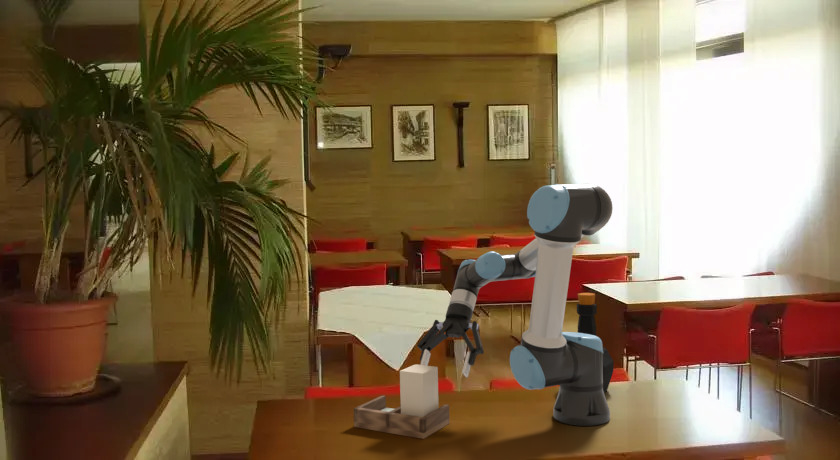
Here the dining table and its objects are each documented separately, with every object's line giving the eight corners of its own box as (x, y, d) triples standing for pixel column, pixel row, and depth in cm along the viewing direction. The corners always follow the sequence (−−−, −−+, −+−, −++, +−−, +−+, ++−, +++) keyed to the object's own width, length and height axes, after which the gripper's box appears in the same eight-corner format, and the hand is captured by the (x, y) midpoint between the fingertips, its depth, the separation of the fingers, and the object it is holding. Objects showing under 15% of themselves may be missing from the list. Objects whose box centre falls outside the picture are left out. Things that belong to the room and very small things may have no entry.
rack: (449, 423, 202) (449, 405, 202) (423, 438, 190) (423, 419, 190) (382, 412, 213) (382, 395, 213) (354, 426, 201) (353, 408, 201)
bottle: (616, 384, 236) (616, 290, 235) (610, 399, 221) (609, 298, 219) (566, 381, 242) (565, 289, 240) (556, 394, 227) (555, 296, 225)
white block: (438, 418, 201) (437, 366, 200) (424, 426, 194) (422, 373, 193) (416, 414, 205) (415, 364, 204) (401, 423, 198) (399, 370, 197)
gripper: (504, 315, 217) (488, 382, 206) (429, 313, 229) (410, 376, 218) (495, 302, 212) (478, 369, 201) (418, 301, 224) (399, 364, 213)
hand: (443, 373), depth 209 cm, fingers open, 13 cm apart
